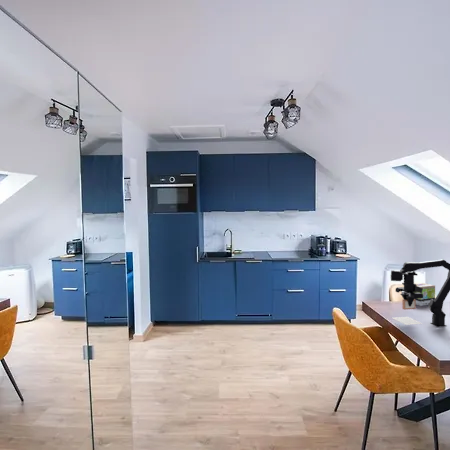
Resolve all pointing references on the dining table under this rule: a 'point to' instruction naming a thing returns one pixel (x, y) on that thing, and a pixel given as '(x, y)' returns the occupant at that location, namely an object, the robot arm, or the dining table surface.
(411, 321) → the mat
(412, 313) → the dining table surface
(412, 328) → the dining table surface
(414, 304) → the tile
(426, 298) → the tea box
